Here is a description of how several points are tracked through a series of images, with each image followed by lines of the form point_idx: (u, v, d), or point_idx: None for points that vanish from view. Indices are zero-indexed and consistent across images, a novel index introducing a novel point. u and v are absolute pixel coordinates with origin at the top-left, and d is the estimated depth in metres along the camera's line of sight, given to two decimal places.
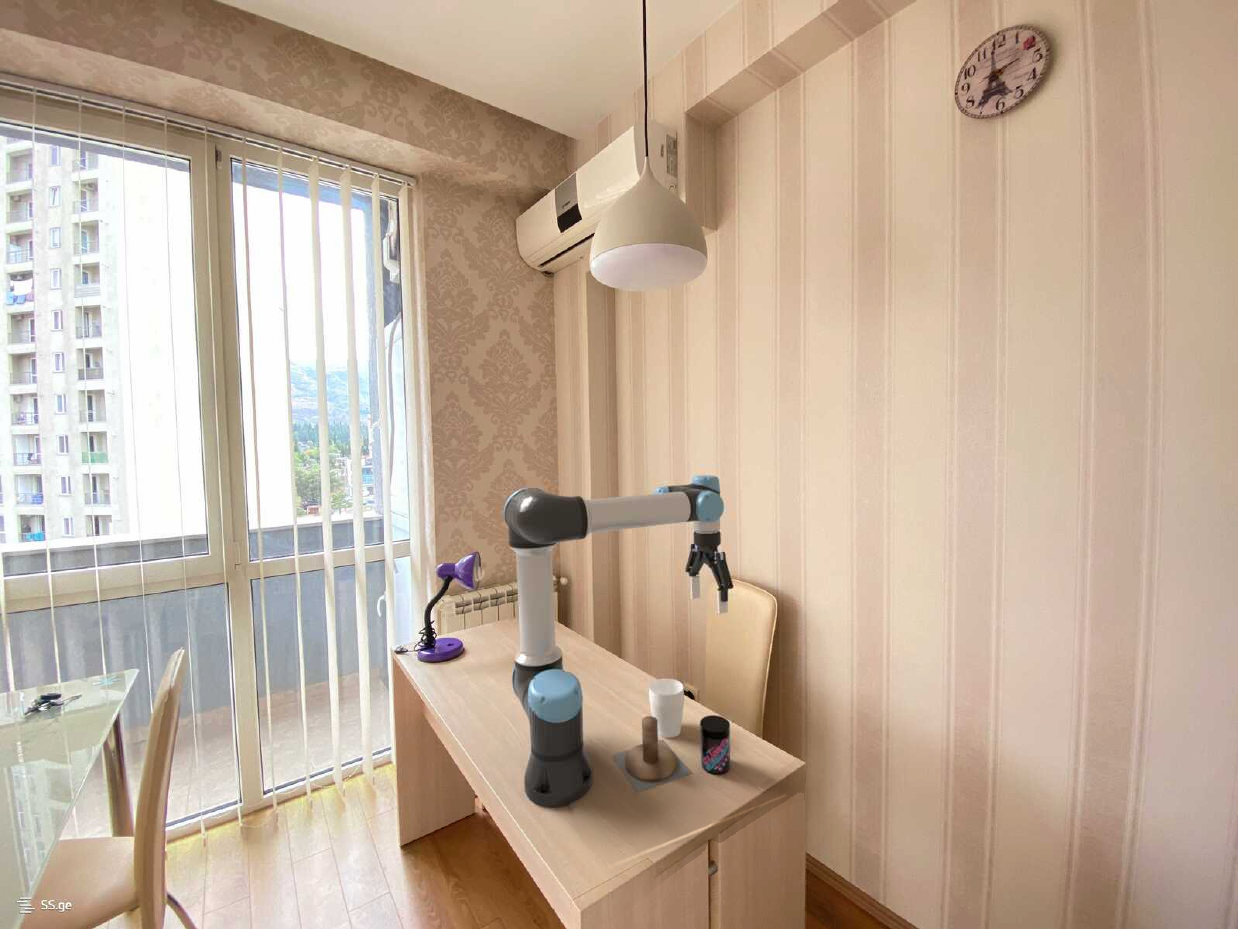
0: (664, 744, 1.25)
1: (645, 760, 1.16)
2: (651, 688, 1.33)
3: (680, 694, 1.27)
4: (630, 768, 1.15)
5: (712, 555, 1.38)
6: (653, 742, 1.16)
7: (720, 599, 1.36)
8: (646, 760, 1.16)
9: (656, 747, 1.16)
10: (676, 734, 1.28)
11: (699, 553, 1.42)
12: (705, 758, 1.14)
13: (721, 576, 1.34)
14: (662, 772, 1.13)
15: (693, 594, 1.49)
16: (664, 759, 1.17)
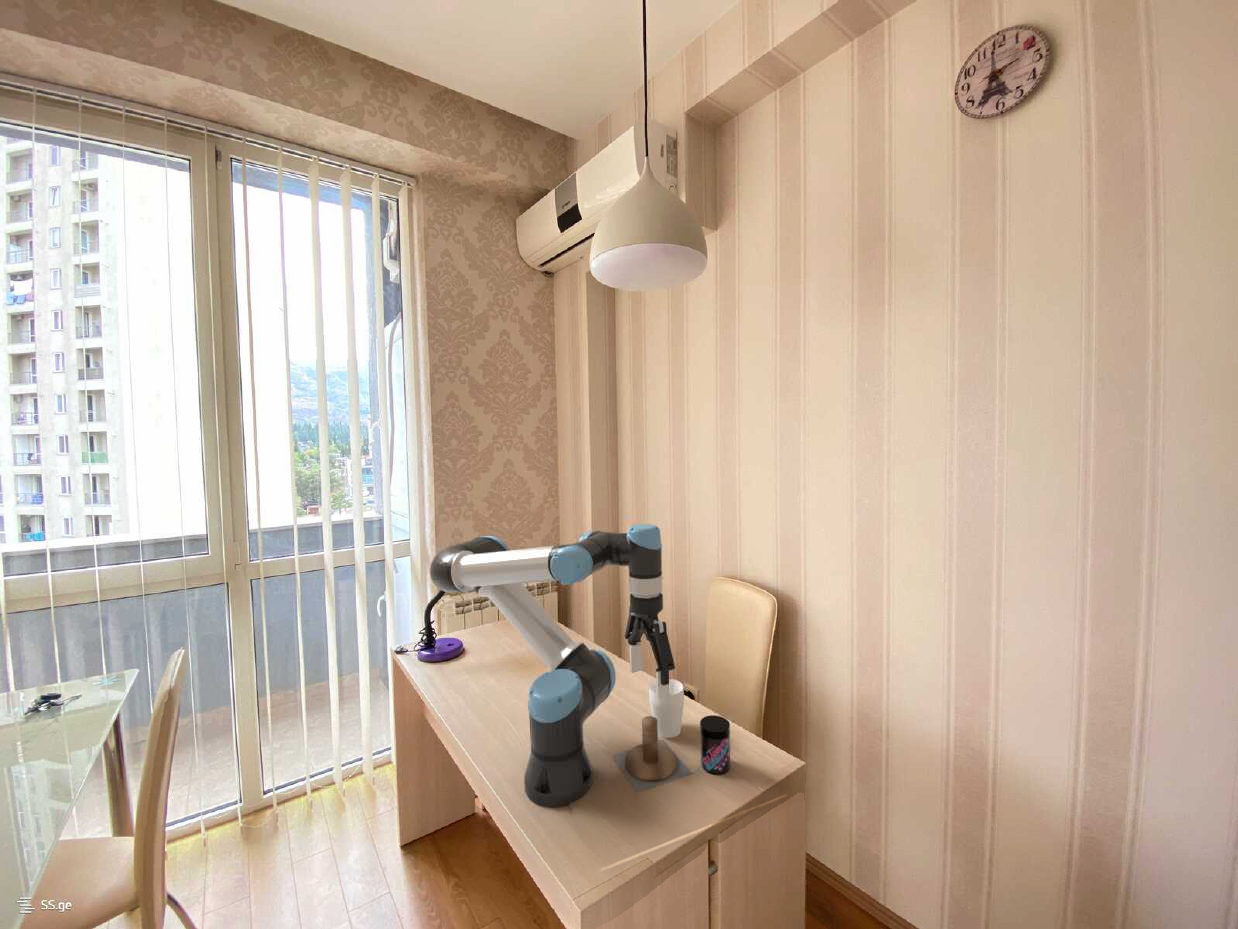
0: (664, 744, 1.25)
1: (645, 760, 1.16)
2: (651, 688, 1.33)
3: (680, 694, 1.27)
4: (630, 768, 1.15)
5: (651, 625, 1.12)
6: (653, 742, 1.16)
7: (659, 681, 1.09)
8: (646, 760, 1.16)
9: (656, 747, 1.16)
10: (676, 734, 1.28)
11: (637, 620, 1.16)
12: (705, 758, 1.14)
13: (660, 654, 1.08)
14: (662, 772, 1.13)
15: (633, 667, 1.22)
16: (664, 759, 1.17)
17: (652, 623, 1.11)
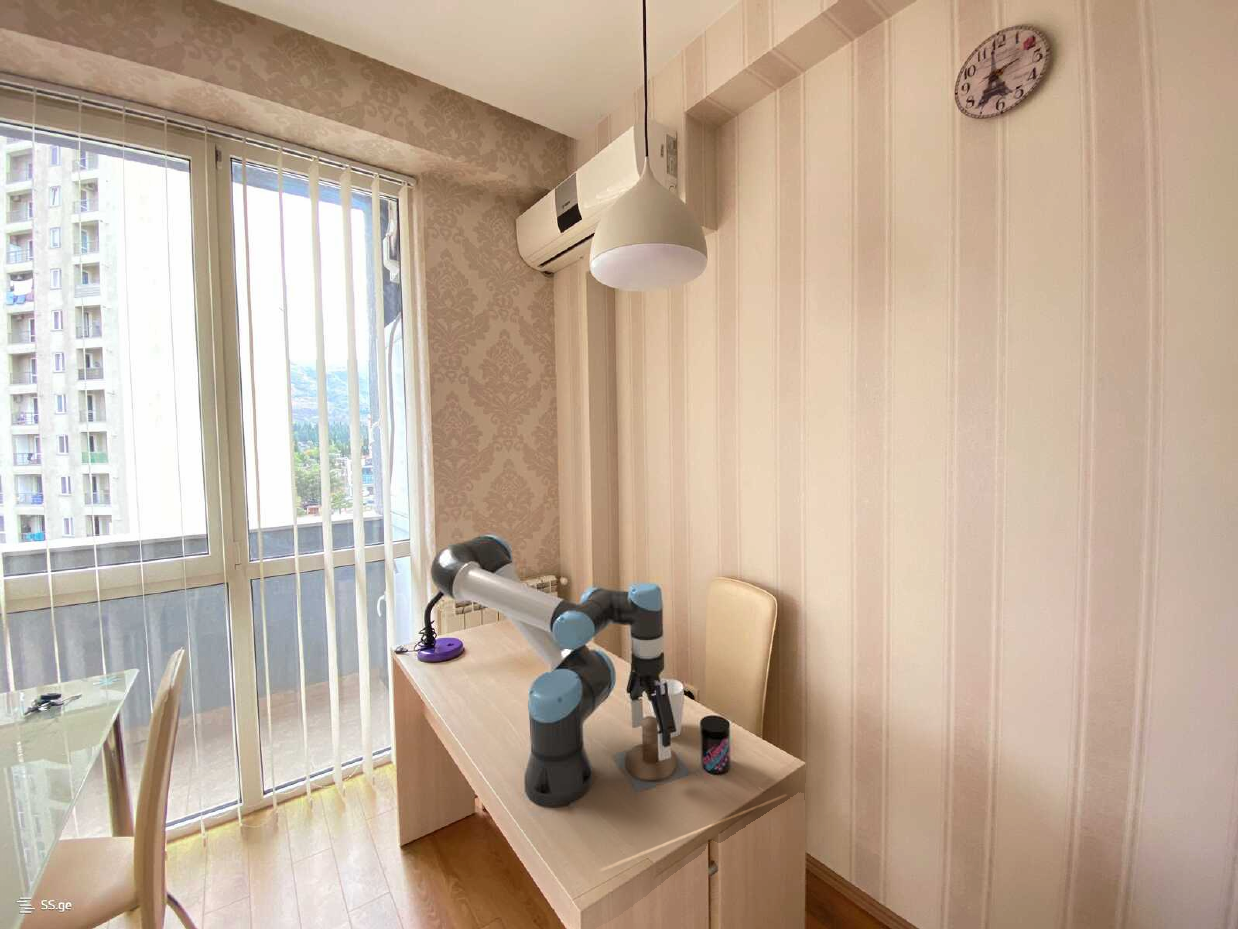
0: None
1: (645, 760, 1.16)
2: None
3: (680, 694, 1.27)
4: (630, 768, 1.15)
5: (652, 686, 1.12)
6: (653, 742, 1.16)
7: (661, 743, 1.10)
8: (646, 760, 1.16)
9: (656, 747, 1.16)
10: (676, 734, 1.28)
11: (638, 679, 1.17)
12: (705, 758, 1.14)
13: (661, 716, 1.09)
14: (662, 772, 1.13)
15: (634, 722, 1.23)
16: (664, 759, 1.17)
17: (653, 684, 1.12)
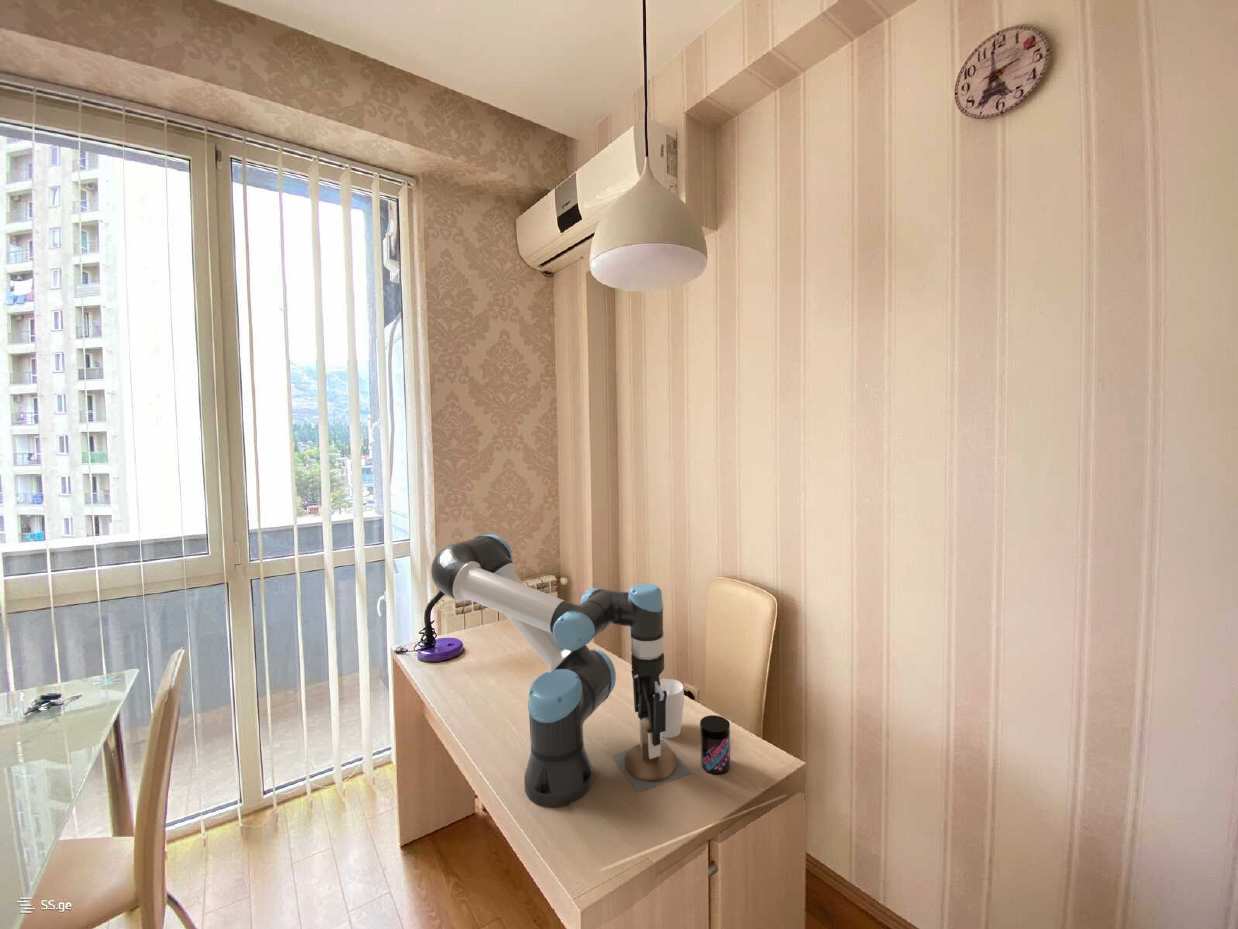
0: (664, 744, 1.25)
1: (645, 760, 1.16)
2: None
3: (680, 694, 1.27)
4: (630, 768, 1.15)
5: (652, 688, 1.13)
6: None
7: (651, 742, 1.15)
8: (646, 760, 1.16)
9: None
10: (676, 734, 1.28)
11: (638, 679, 1.17)
12: (705, 758, 1.14)
13: (654, 718, 1.12)
14: (662, 771, 1.13)
15: None
16: (664, 759, 1.17)
17: (653, 687, 1.12)
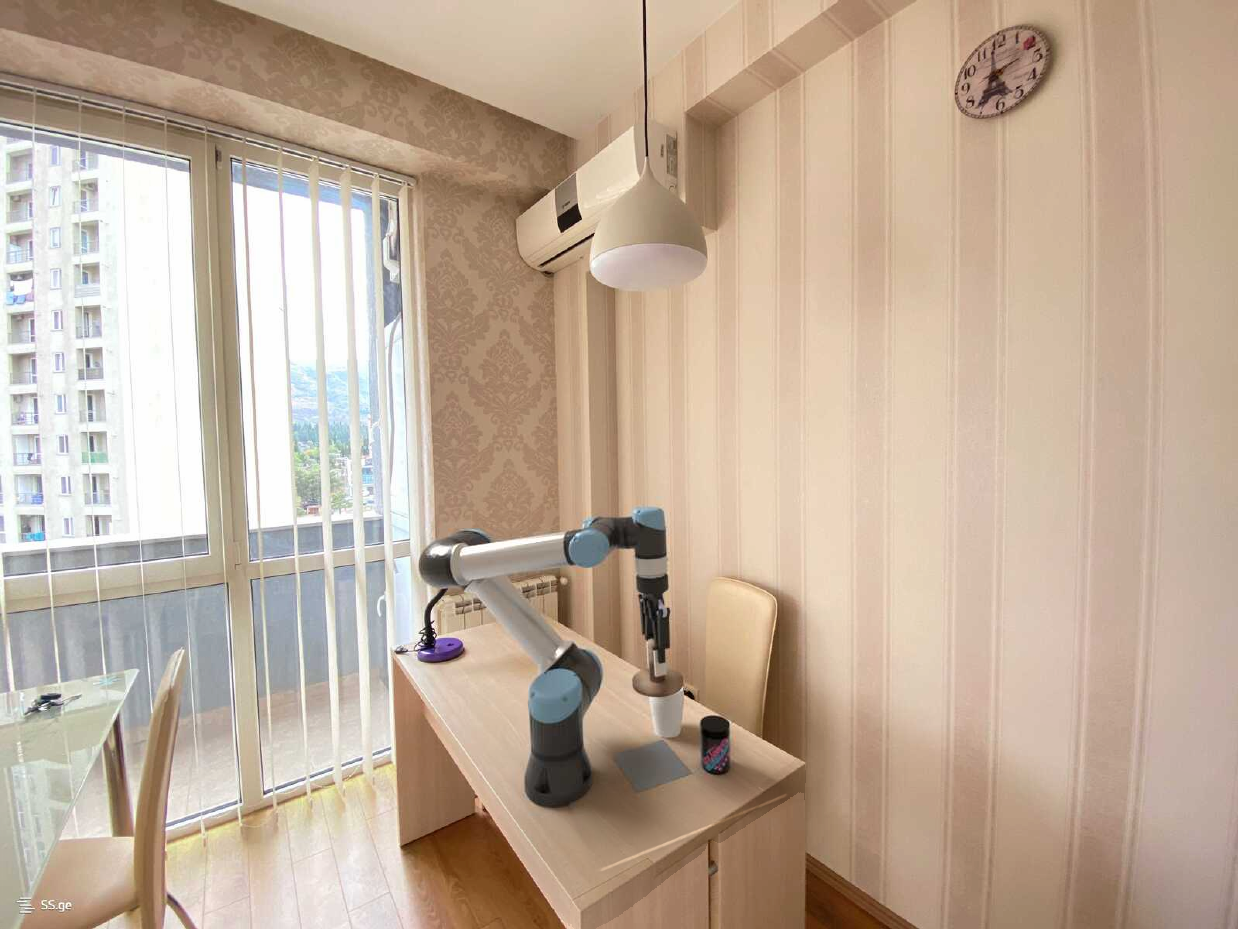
0: (664, 744, 1.25)
1: (651, 679, 1.19)
2: None
3: (680, 694, 1.27)
4: (636, 685, 1.17)
5: (655, 605, 1.15)
6: None
7: (656, 660, 1.17)
8: (652, 679, 1.18)
9: None
10: (676, 734, 1.28)
11: (643, 600, 1.19)
12: (705, 758, 1.14)
13: (658, 635, 1.14)
14: (667, 688, 1.15)
15: None
16: (670, 679, 1.19)
17: (657, 605, 1.15)
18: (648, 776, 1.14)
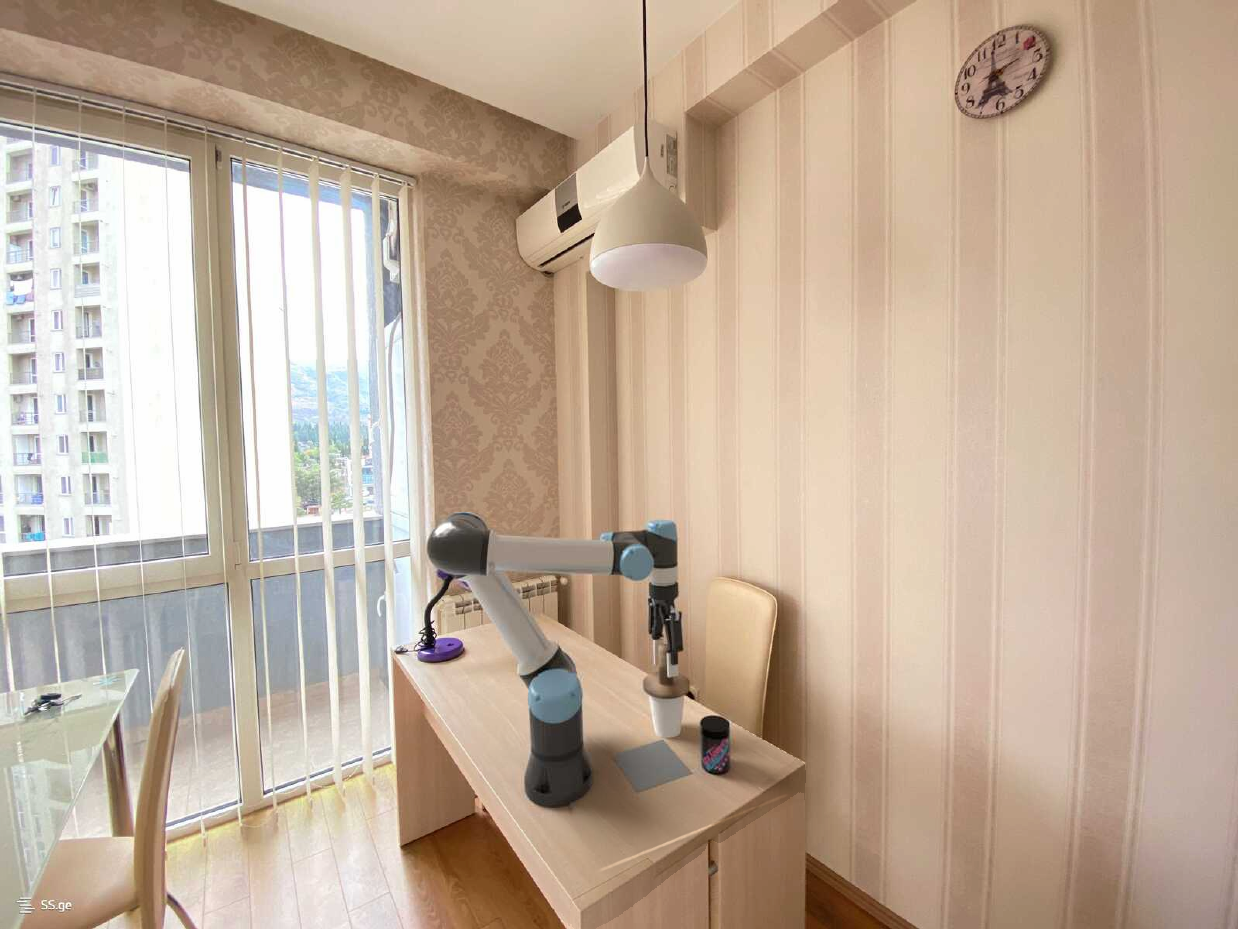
0: (664, 744, 1.25)
1: (661, 682, 1.29)
2: None
3: None
4: (648, 688, 1.27)
5: (668, 611, 1.25)
6: None
7: (670, 662, 1.26)
8: (662, 682, 1.29)
9: None
10: (676, 734, 1.28)
11: (655, 606, 1.29)
12: (705, 758, 1.14)
13: (672, 638, 1.23)
14: (677, 690, 1.26)
15: (656, 660, 1.32)
16: (678, 682, 1.30)
17: (669, 610, 1.25)
18: (648, 776, 1.14)
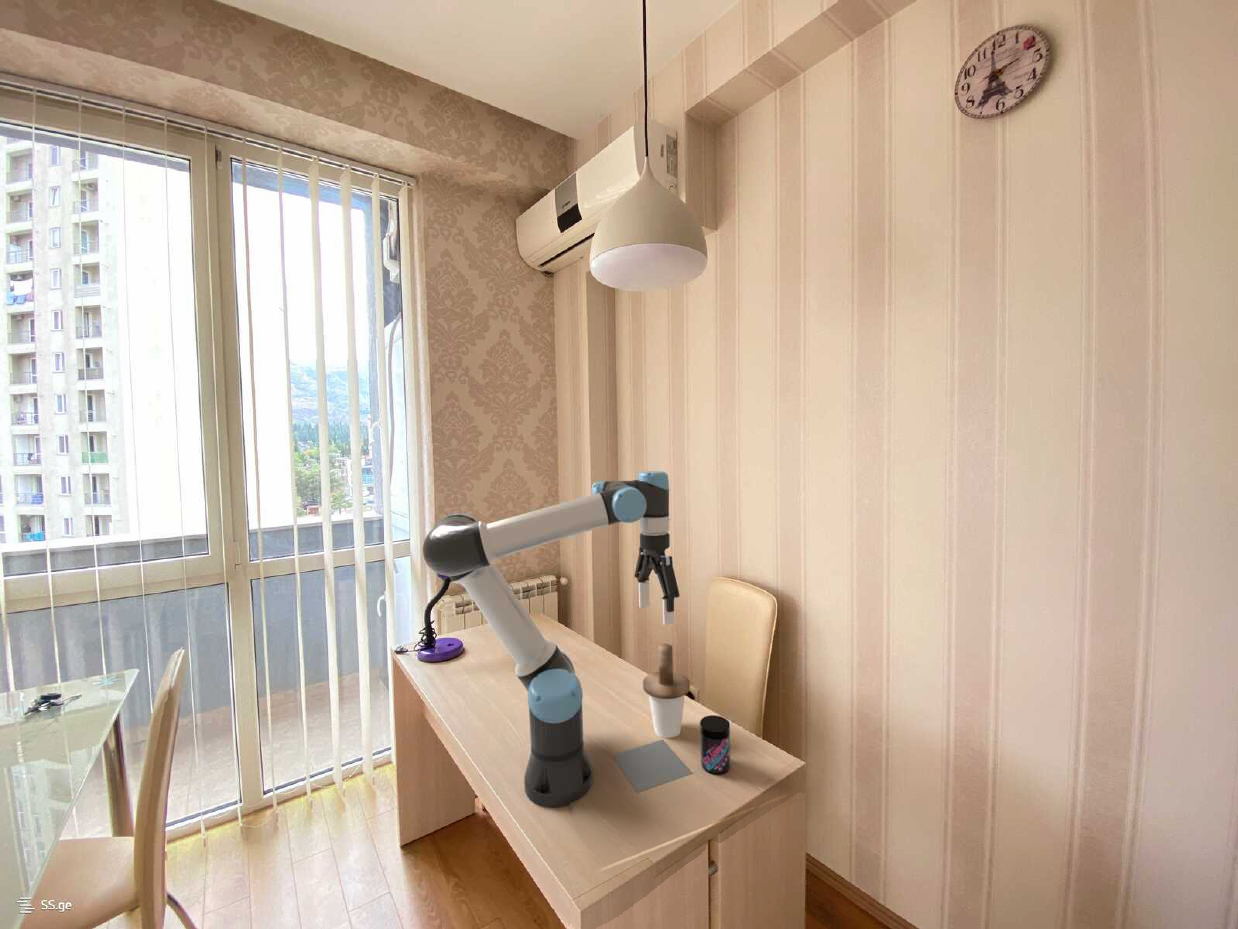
0: (664, 744, 1.25)
1: (661, 682, 1.29)
2: None
3: None
4: (648, 688, 1.27)
5: (658, 559, 1.24)
6: (668, 666, 1.28)
7: (665, 609, 1.22)
8: (662, 682, 1.29)
9: (671, 670, 1.29)
10: (676, 734, 1.28)
11: (646, 557, 1.29)
12: (705, 758, 1.14)
13: (666, 583, 1.21)
14: (677, 691, 1.26)
15: (641, 602, 1.35)
16: (678, 682, 1.30)
17: (659, 557, 1.24)
18: (648, 776, 1.14)
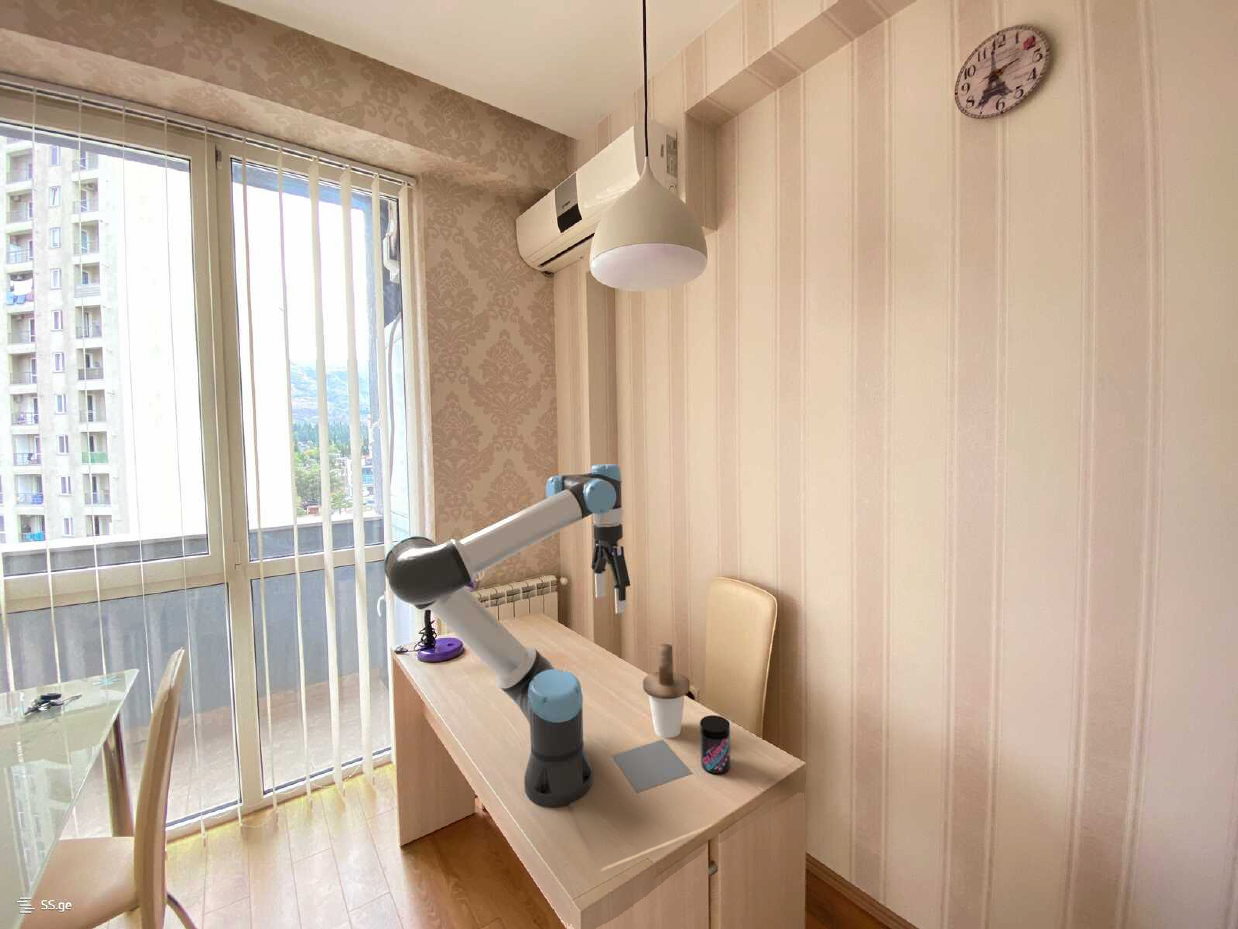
0: (664, 744, 1.25)
1: (661, 682, 1.29)
2: None
3: None
4: (648, 688, 1.27)
5: (611, 550, 1.28)
6: (668, 666, 1.28)
7: (617, 598, 1.25)
8: (662, 682, 1.29)
9: (671, 670, 1.29)
10: (676, 734, 1.28)
11: (600, 548, 1.32)
12: (705, 758, 1.14)
13: (617, 573, 1.24)
14: (677, 691, 1.26)
15: (598, 592, 1.38)
16: (678, 682, 1.30)
17: (612, 548, 1.28)
18: (648, 776, 1.14)
